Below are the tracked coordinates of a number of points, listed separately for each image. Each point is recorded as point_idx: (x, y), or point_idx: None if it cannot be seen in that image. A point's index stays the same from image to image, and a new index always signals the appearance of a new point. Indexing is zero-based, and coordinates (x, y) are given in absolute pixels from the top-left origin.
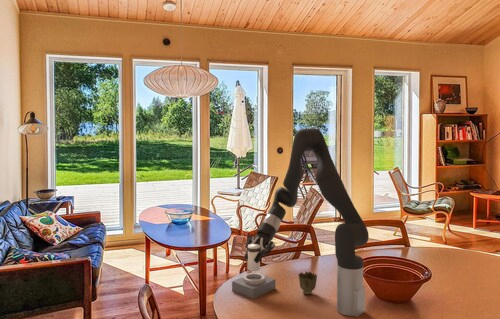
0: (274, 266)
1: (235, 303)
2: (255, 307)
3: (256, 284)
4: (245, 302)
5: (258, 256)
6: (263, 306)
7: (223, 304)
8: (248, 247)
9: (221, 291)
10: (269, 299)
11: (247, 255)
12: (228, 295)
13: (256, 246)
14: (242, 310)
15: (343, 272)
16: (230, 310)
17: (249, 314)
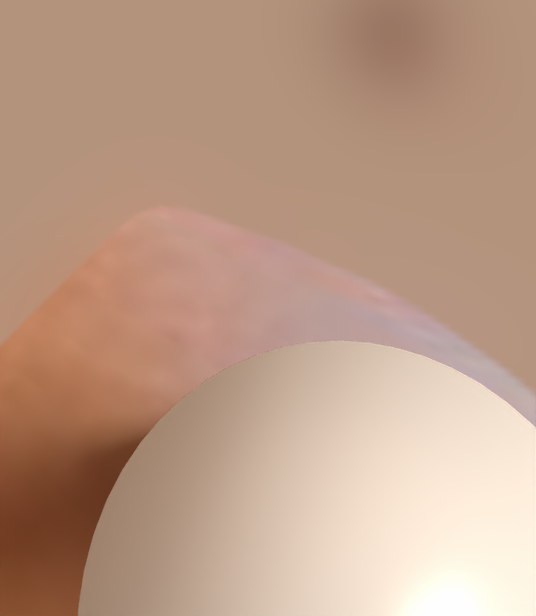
0: None
1: (198, 321)
2: (60, 399)
3: None
4: (166, 383)
5: None
6: (27, 456)
7: (235, 258)
8: (354, 358)
9: (434, 330)
10: (72, 583)
11: None
12: (339, 340)
13: (167, 612)
14: (92, 311)
15: None
16: (143, 258)
17: (25, 320)
